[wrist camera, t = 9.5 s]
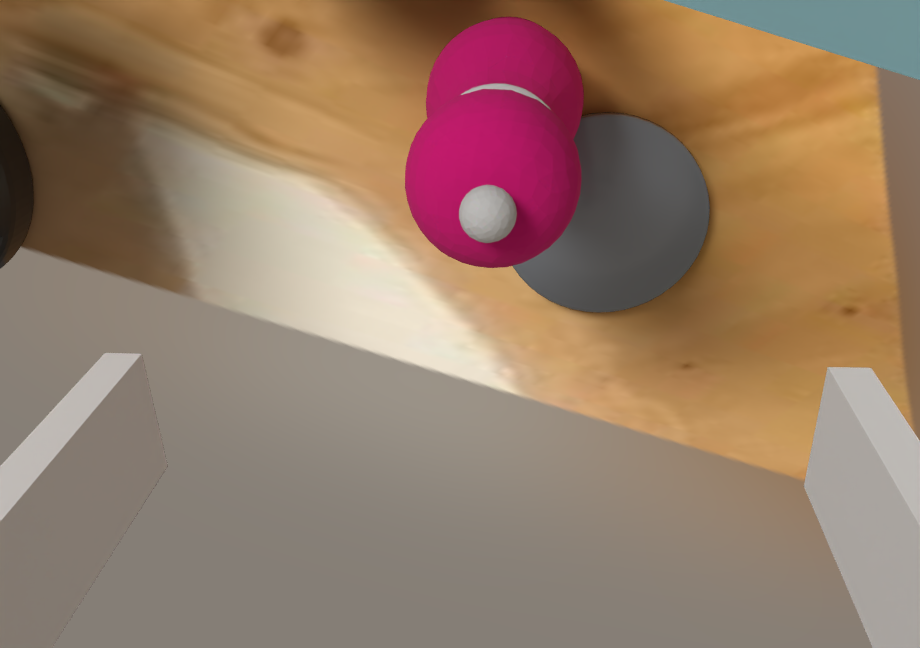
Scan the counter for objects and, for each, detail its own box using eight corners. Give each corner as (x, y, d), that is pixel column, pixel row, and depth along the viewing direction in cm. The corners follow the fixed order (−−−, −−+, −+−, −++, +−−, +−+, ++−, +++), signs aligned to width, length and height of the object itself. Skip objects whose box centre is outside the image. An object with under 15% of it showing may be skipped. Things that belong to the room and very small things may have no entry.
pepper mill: (597, 25, 41) (642, 136, 24) (557, 165, 45) (570, 354, 27) (453, -11, 41) (389, 74, 24) (423, 133, 45) (348, 301, 27)
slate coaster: (500, 304, 49) (499, 311, 48) (499, 113, 44) (498, 117, 43) (696, 307, 48) (698, 313, 47) (717, 111, 43) (721, 115, 42)
